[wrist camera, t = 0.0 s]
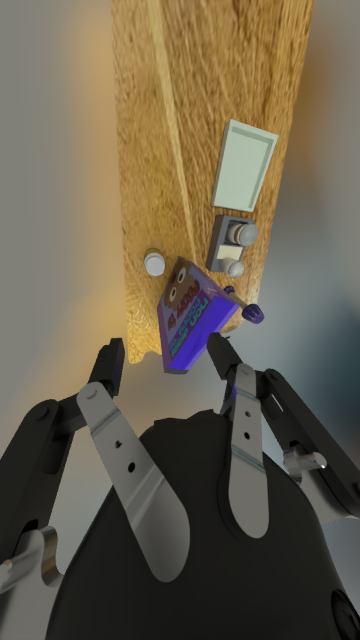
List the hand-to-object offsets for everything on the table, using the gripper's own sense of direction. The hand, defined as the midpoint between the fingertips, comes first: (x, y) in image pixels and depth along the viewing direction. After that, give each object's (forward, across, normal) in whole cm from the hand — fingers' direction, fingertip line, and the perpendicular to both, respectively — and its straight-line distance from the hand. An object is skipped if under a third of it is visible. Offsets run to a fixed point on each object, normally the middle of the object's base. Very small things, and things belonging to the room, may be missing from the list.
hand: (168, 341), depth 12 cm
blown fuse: (+28, -19, -8) cm, 35 cm away
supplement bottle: (+30, 0, -1) cm, 30 cm away
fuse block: (+29, -19, -6) cm, 35 cm away
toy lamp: (+30, -25, +8) cm, 39 cm away
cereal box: (+30, -6, +7) cm, 31 cm away
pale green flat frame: (+29, -18, -18) cm, 39 cm away
